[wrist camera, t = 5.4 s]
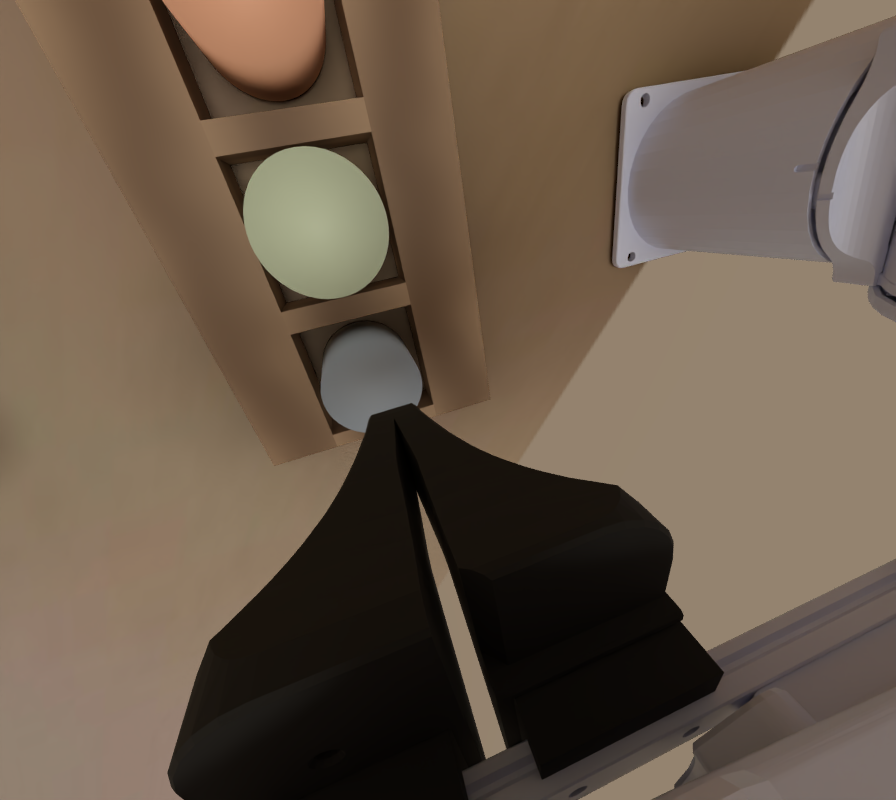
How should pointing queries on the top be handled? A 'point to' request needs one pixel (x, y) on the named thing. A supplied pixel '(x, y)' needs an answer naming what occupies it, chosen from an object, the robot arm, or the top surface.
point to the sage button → (316, 222)
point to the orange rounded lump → (258, 42)
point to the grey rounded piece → (367, 374)
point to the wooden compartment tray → (221, 202)
